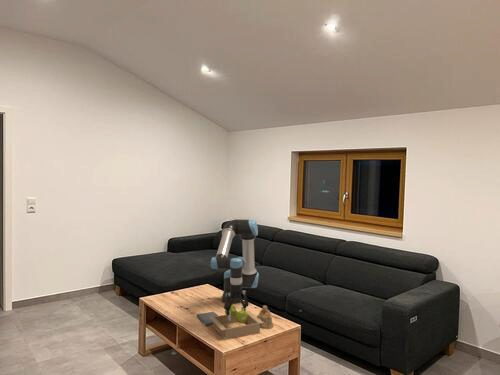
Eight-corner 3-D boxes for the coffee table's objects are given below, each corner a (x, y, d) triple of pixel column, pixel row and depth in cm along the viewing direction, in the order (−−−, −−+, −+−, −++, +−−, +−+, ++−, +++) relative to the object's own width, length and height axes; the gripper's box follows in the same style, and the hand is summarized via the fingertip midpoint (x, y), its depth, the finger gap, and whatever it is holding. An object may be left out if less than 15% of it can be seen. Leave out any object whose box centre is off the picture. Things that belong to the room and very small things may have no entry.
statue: (276, 305, 257) (273, 306, 248) (274, 328, 254) (272, 329, 244) (258, 304, 260) (254, 304, 251) (256, 326, 257) (253, 327, 247)
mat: (213, 313, 271) (213, 311, 271) (223, 323, 254) (223, 321, 254) (196, 316, 266) (196, 314, 266) (205, 326, 249) (205, 324, 249)
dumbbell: (223, 316, 249) (223, 305, 249) (234, 313, 254) (234, 303, 253) (238, 325, 236) (238, 313, 235) (248, 322, 240) (248, 310, 240)
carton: (248, 319, 260) (248, 311, 260) (263, 332, 240) (263, 322, 240) (209, 326, 248) (209, 317, 248) (221, 340, 229) (221, 330, 229)
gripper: (249, 279, 251) (249, 314, 252) (218, 283, 242) (218, 319, 244) (254, 282, 244) (254, 318, 246) (222, 287, 235) (222, 323, 237)
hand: (236, 318), depth 245 cm, fingers closed on dumbbell, 8 cm apart
